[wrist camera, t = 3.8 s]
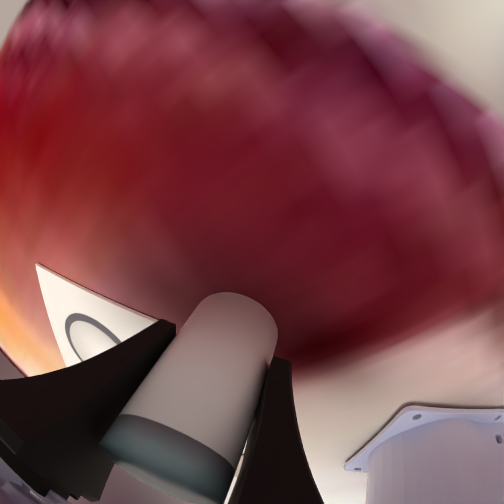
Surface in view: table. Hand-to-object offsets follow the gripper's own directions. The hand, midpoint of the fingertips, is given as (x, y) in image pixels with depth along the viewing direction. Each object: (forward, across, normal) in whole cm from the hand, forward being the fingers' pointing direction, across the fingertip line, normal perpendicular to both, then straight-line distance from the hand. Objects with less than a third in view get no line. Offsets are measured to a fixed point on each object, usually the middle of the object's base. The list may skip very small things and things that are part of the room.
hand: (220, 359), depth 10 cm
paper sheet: (+2, +8, +6) cm, 10 cm away
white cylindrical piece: (+2, 0, 0) cm, 2 cm away
